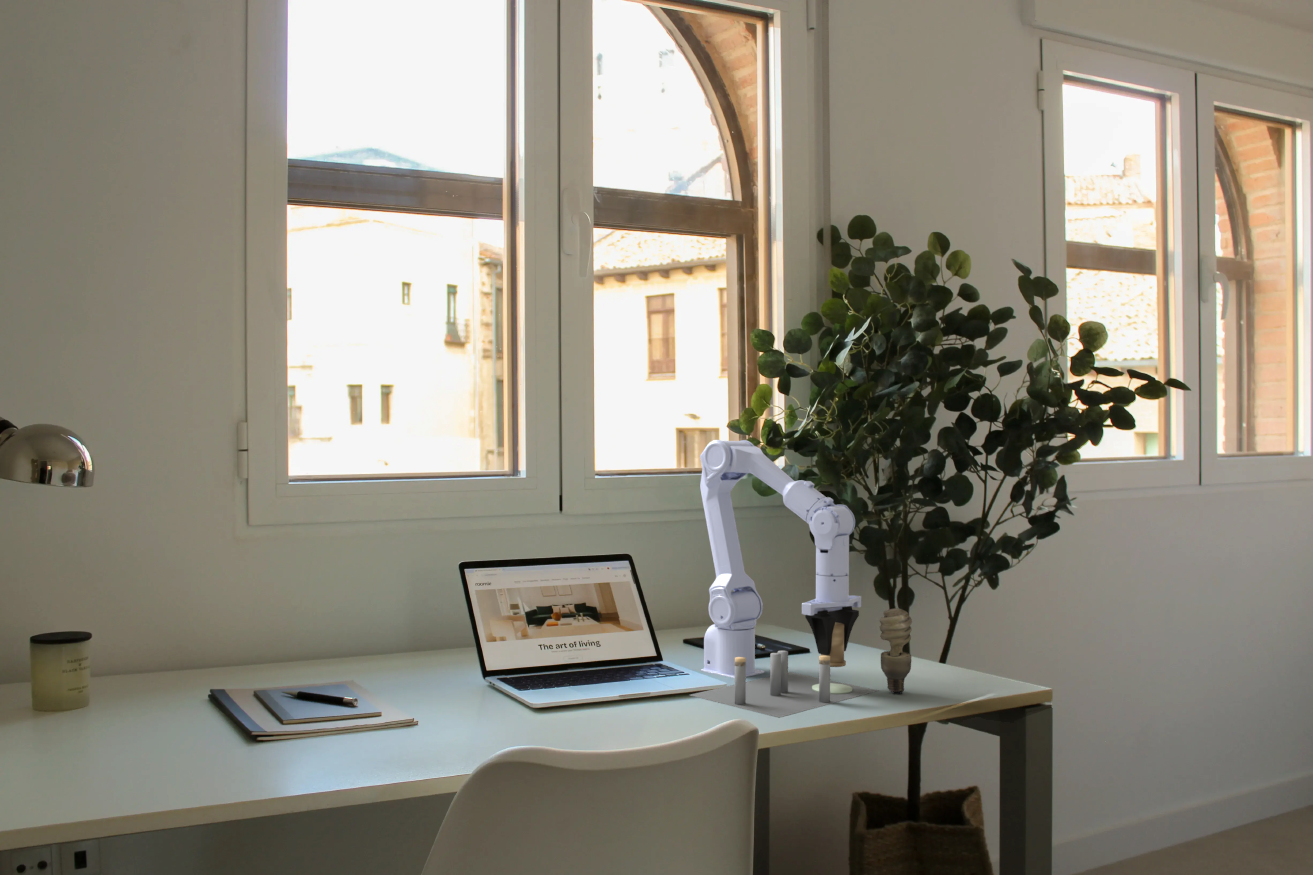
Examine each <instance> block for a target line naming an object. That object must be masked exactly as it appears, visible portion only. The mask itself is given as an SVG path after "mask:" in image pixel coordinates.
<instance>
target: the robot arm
mask: <svg viewBox="0 0 1313 875" xmlns="http://www.w3.org/2000/svg"><path fill="white" fill-rule="evenodd" d="M699 459H700V465H701V469H702V470H701V476H700V483H699V485H700V486H699V487H700V493H701V500H702V505H703V510H704V517H705V521H706V526H707V527H706V528H707V533H708V538H709V544H710V549H711V554H712V559H713V561H712V562H713V565H714V566H713V567H714V572H715V579H714V581H713V582H712V584H711V585H710V586H709V589H708V592H709V603H708V615H709V618H710V619H711V621H712V622H713V624H711V625H709V627H708V628H707V630H706V631H705V634H704V637H703V668H701V669H700V671H701V672H705V673H709V674H713V675H717V676H721V677H722V676H723V677H726V678H727V677H728V678H732V679H735V658H736V657H744V658H746V677H747V678H748V677H751V676H755V675H760V674H765V670H762V669H757V668H755V667H756V665H755V664H756V662H755V661H756V660H755V658H756V656H755V655H756V653H755V652H756V649H755V648H756V646H755V644H756V638H755V637H756V626H757V620H758V619H759V618H760V617H761V615H762V614H763V609H764V603H763V600H762V597H761V595H760V594H759V592H758V590H757V588H756V583H755V581H754V579H752V578H751V577H750V576H749V575H748V574H747V573H746V572H745V565H744V560H743V555H742V549H741V545H740V539H739V534H738V529H737V524H736V518H735V511H734V507H733V500H732V497H731V496H732V495H731V492H732V490H733V489H734V487H735V486H736V484H737V483H738V482H739V481H741V480H742V479H743V478H744V477H746V475H747V476H748V474H752V475H753V476H754V477H756V478H757V479H758V480H760V481H761V482H763V483H764V484H766V485H767V486H769V487H770V488H771V489H773V490H774V491H776V492H777V493H779V494H780V495H782V501H783V505H784V506H785V507H786V508H787V509H788V510H790V511H791V512H793V514H794V515H797V517H798V518H800V519H801V520H803V521H804V522H805V523H806V524H808V527H809V531H810V532H811V534H812V535H813V537H814V546H815V598H814V599H811V600H808V601H805V602H802V603H801V615H804V616H805V620H806V621H807V622H808V624H809V626H810V628H811V631H812V633H813V637H814V640H815V645H816V648H817V653H818V654H820V655H821V654H824V655H830V652H831V644H832V634H833V629H834V625H835V622H836V623H842V624H844V652H846V651H847V648H848V644H849V639H850V636H851V632H852V630H853V627H854V625H855V622H856V621H857V620H858V617H859V616H860V611H859V610H858V609H853V608H861V607H862V595H850V591H849V590H850V577H849V576H850V554H849V553H850V535H851V534H853V532H854V530H855V526H856V519H855V515H854V513H853V512H852V510H851V509H850V508H849V507H848V506H847V505H846V504H835V502H834V499H833V498H831V497H829V496H827V497H826V496H825V495H824V494H822V492H820V491H819V490H817V489H816V488H815V483H814V482H812V481H811V480H803V479H801V480H794V479H793V478H792V477H791V476H790V475H788V474H787V473H786V472H785V471H784V470H782V469H781V468H780V466H778V465H777V464H776V463H774V462H773V461H772V460H771V459H770V458H769V457H768V456H766V455H765V454H764V453H763V451H762V449H761V447H757V445H754V444H753V443H752V442H751V441H749V440H746V439H744V440H721V439H714V440H711V441H710V442H709V443H707V445H706V446H705V447H704V450H703V451H702V452H701V454H700V455H699Z"/></svg>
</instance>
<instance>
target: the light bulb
mask: <svg viewBox="0 0 1313 875" xmlns="http://www.w3.org/2000/svg"><path fill="white" fill-rule="evenodd" d="M883 616H884V617H883ZM883 616H882V617H880V618H879V623H880V626H879V631H880V632H881V634H880V639H881V640H883V641H888V642H889V646H890V650H886V651H882V652H881V653H880V669H881V670H882V671H881V672H883V675H884V676H885V677H886V680H887V681H886V682H887V689H888V691H890V692H891V693H893V694H896V695H901V694H902V692H904V691H905V683H904V682H905V679H906V678H907V676H908V675H909V673H911V670H912V654H910V652H909V653H908V652H906V651H903V648H904V646H905V645H906V644H909V643H910V641H911V640H912V636H911V633H912V626H911V625H912V623H913V619H912V617H911V616H910V614H909V613H908V612H907V610H904V609H902V608H897V607H895V608H890V609H886V610H884V611H883Z"/></svg>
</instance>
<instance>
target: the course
mask: <svg viewBox="0 0 1313 875" xmlns="http://www.w3.org/2000/svg"><path fill="white" fill-rule="evenodd" d="M769 656H770V658H769V659H770V661H769V662H770V666H769V667H770V670H769V672H770V674H769V676H767V677H763V678H758V679H754V680H750V681H749V680H748V681H747V680H746V679H747V678H746V658H744V657H736V658H735V678H734V684H732V685H731V684H730V685H727V686H722V687H717V688H713V689H710V690H709V689H708V690H704V691H699V692H696V693H692V694H689V696H690V697H695V698H698V699H701V700H706V701H710V702H714V703H717V704H722V705H726V706H731V707H735V708H738V709H742V710H747V711H751V712H755V713H759V714H763V715H767V716H770V717H774V718H779V719H780V718H783V717H787V716H791V715H794V714H798V713H801V712H805V711H809V710H813V709H817V708H820V707H821V708H822V707H823V706H825V707H826V706H827V705H831V704H836V703H839V702H842V701H847V700H849V699H850V700H851V699H853V698H858V697H860V696H865V695H869V694H872V693H876V692H879V691H880V690H878V689H874V688H869V687H865V686H860V685H859V686H858V685H854V684H850V683H845V682H839V681H836V680H835V681H834V680H831V667H830V656H826V655H821V654H820V655H819V656H818V675H819V676H818V677H816V676H812V675H811V676H810V675H806V674H801V673H796V672H792V671H789V651H787V650H778V651H777V652H771V653H770V655H769ZM830 683H835V684H843V685H847V686H850V687H852V692H850V693H846V694H830ZM816 684H819V692H816V691H813V690H812V686H813V685H816Z"/></svg>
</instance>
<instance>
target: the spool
mask: <svg viewBox="0 0 1313 875" xmlns="http://www.w3.org/2000/svg"><path fill="white" fill-rule="evenodd" d="M821 655H824V654H820V656H821ZM826 656H830V668H841V667H845V666H847V661H846V660H845V651H844V624H842V623H836V622H835V625H834V629H833V634H832V644H831V652H830V655H826Z"/></svg>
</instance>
